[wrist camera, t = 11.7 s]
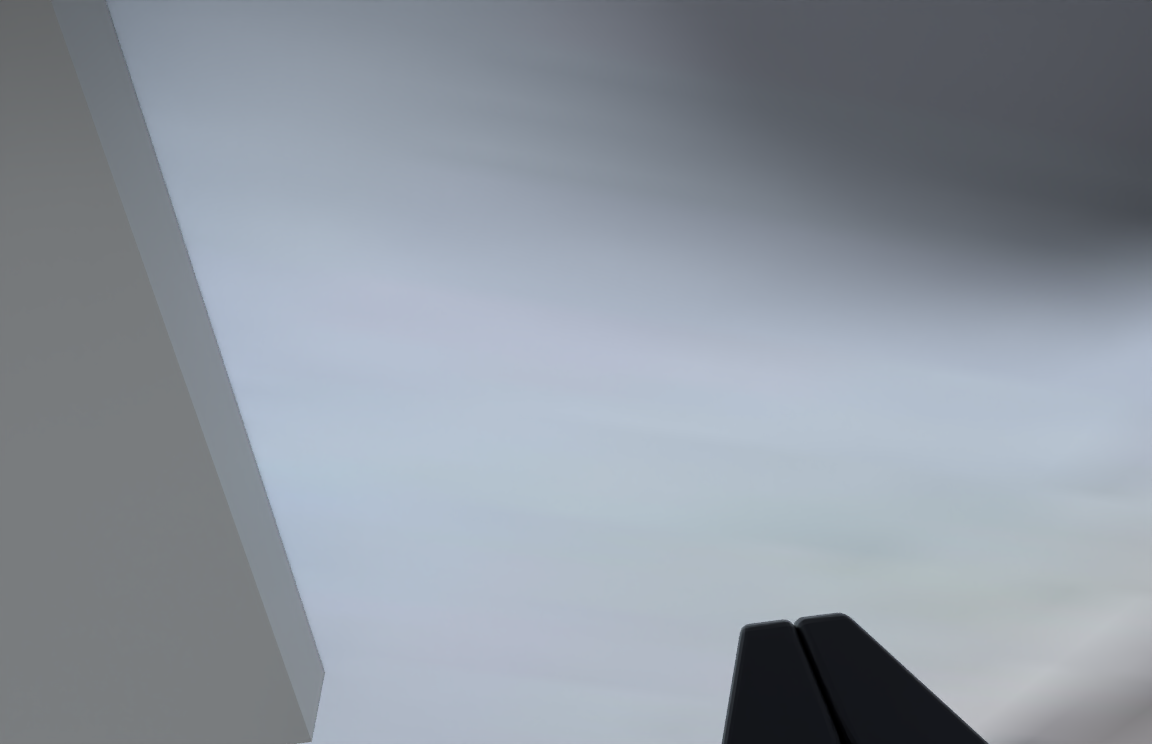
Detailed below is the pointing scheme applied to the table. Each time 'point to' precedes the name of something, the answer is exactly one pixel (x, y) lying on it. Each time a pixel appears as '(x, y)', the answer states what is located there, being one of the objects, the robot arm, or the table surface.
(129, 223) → the panel
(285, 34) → the table surface
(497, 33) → the table surface
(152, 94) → the table surface
